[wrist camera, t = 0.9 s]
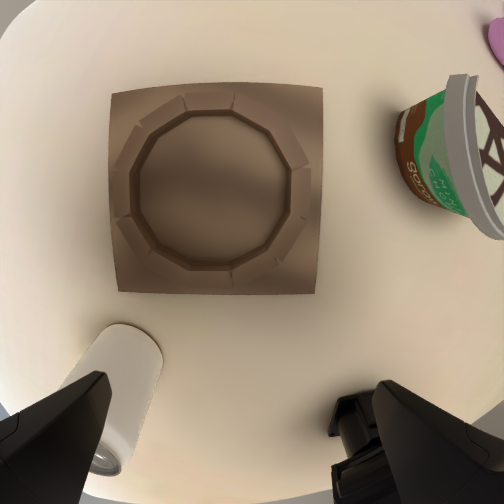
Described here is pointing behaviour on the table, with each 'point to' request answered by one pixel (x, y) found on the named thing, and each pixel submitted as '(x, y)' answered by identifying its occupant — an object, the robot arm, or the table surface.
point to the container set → (497, 38)
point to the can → (121, 390)
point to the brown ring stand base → (216, 188)
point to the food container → (455, 154)
